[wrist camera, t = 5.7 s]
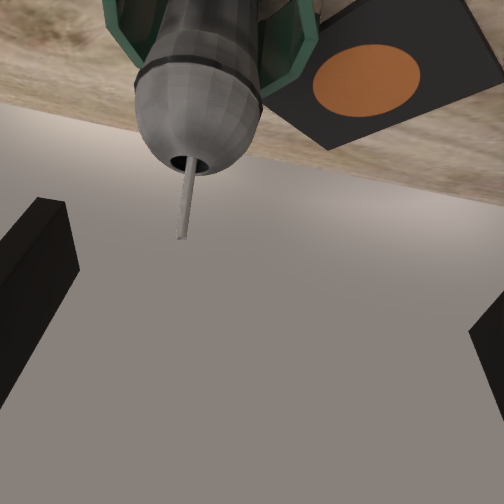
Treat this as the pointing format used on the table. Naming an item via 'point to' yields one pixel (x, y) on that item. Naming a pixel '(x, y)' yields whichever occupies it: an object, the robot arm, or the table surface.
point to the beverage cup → (200, 90)
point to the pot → (269, 36)
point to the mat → (386, 68)
